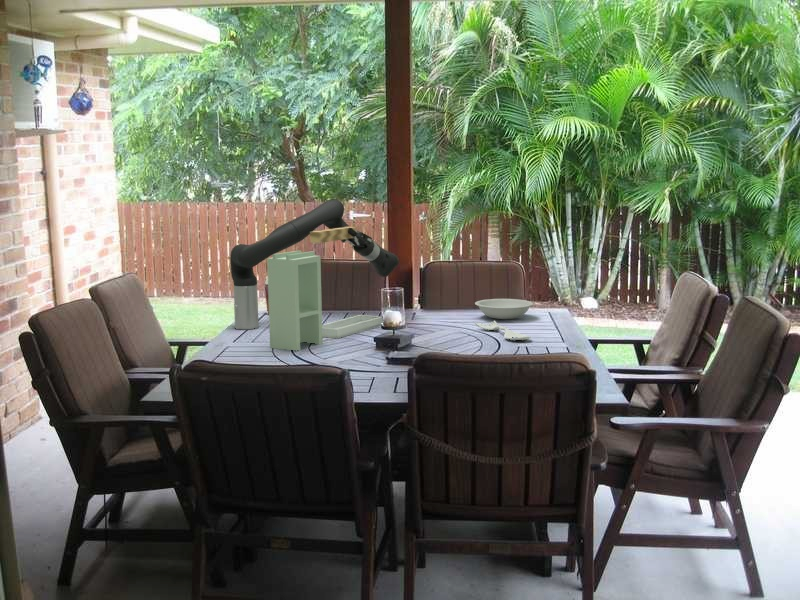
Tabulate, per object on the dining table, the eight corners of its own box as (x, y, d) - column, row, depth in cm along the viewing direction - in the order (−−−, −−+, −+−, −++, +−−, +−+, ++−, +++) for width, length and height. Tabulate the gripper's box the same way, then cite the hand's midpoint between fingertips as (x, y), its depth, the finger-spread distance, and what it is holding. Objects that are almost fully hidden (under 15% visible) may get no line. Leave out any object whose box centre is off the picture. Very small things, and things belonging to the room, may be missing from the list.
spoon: (494, 328, 356) (494, 319, 355) (535, 342, 327) (535, 333, 326) (474, 329, 353) (474, 321, 352) (513, 344, 323) (513, 335, 323)
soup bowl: (542, 316, 379) (542, 301, 378) (518, 325, 359) (518, 309, 358) (491, 312, 392) (491, 297, 391) (464, 320, 372) (464, 304, 371)
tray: (337, 338, 336) (337, 329, 336) (313, 336, 342) (313, 326, 341) (382, 325, 362) (382, 316, 362) (360, 323, 368) (359, 314, 367)
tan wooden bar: (318, 243, 328) (318, 232, 327) (310, 242, 330) (309, 231, 329) (356, 237, 348) (356, 226, 347) (348, 237, 350) (348, 226, 349)
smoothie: (288, 312, 395) (286, 267, 392) (279, 315, 387) (278, 269, 384) (270, 311, 398) (269, 266, 395) (262, 315, 390) (260, 269, 387)
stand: (296, 351, 315) (294, 255, 310) (270, 347, 321) (267, 254, 316) (322, 343, 328) (320, 251, 322) (296, 340, 334) (293, 250, 329)
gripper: (354, 238, 362) (331, 220, 349) (384, 240, 355) (361, 221, 341) (349, 255, 360) (326, 237, 347) (379, 257, 353) (356, 239, 339)
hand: (344, 229), depth 344 cm, fingers closed on tan wooden bar, 4 cm apart
